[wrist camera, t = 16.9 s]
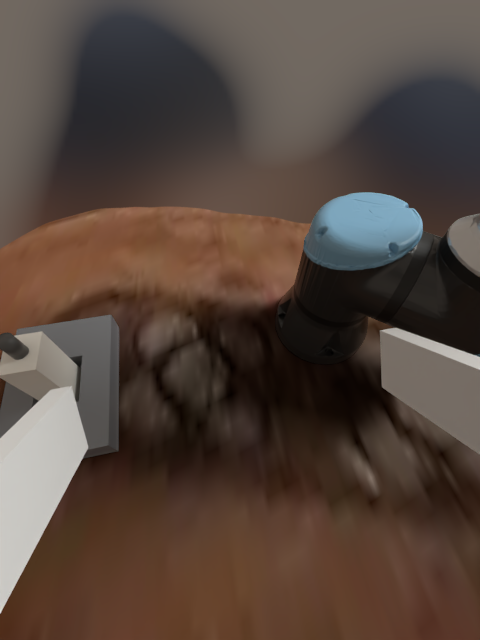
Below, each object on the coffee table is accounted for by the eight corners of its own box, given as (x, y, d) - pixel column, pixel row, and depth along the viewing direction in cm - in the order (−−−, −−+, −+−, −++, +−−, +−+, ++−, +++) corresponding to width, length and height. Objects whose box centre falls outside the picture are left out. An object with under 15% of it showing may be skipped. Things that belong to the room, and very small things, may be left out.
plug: (83, 371, 47) (27, 317, 34) (81, 402, 44) (20, 357, 31) (55, 376, 46) (-12, 323, 34) (51, 408, 44) (-23, 364, 31)
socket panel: (119, 327, 52) (111, 314, 49) (118, 451, 42) (108, 445, 38) (31, 341, 50) (17, 329, 47) (8, 474, 40) (-13, 470, 37)
